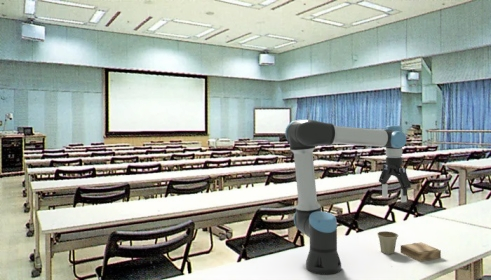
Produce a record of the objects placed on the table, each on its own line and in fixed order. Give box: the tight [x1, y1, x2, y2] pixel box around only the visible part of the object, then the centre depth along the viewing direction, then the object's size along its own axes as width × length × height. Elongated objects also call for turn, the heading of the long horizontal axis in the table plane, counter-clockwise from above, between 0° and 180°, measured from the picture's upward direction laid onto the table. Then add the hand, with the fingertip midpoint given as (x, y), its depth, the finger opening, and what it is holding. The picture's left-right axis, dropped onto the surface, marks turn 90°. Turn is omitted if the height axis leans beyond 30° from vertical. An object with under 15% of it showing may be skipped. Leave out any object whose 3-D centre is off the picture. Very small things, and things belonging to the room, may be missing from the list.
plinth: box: [400, 242, 442, 262], centre depth 177 cm, size 12×12×4 cm
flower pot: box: [377, 230, 399, 255], centre depth 182 cm, size 9×9×9 cm
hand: (393, 199), depth 188 cm, fingers open, 13 cm apart
